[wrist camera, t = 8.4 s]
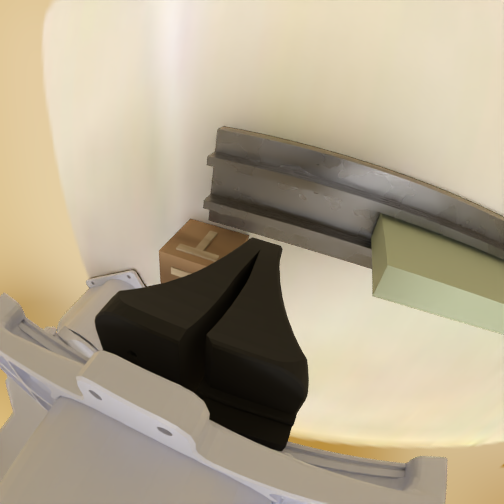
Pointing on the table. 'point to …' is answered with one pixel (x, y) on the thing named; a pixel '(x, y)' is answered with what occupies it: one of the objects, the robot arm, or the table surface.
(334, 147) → the table surface
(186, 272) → the block
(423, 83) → the table surface
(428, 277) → the pale green long bar
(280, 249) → the robot arm
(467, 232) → the track
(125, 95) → the table surface
